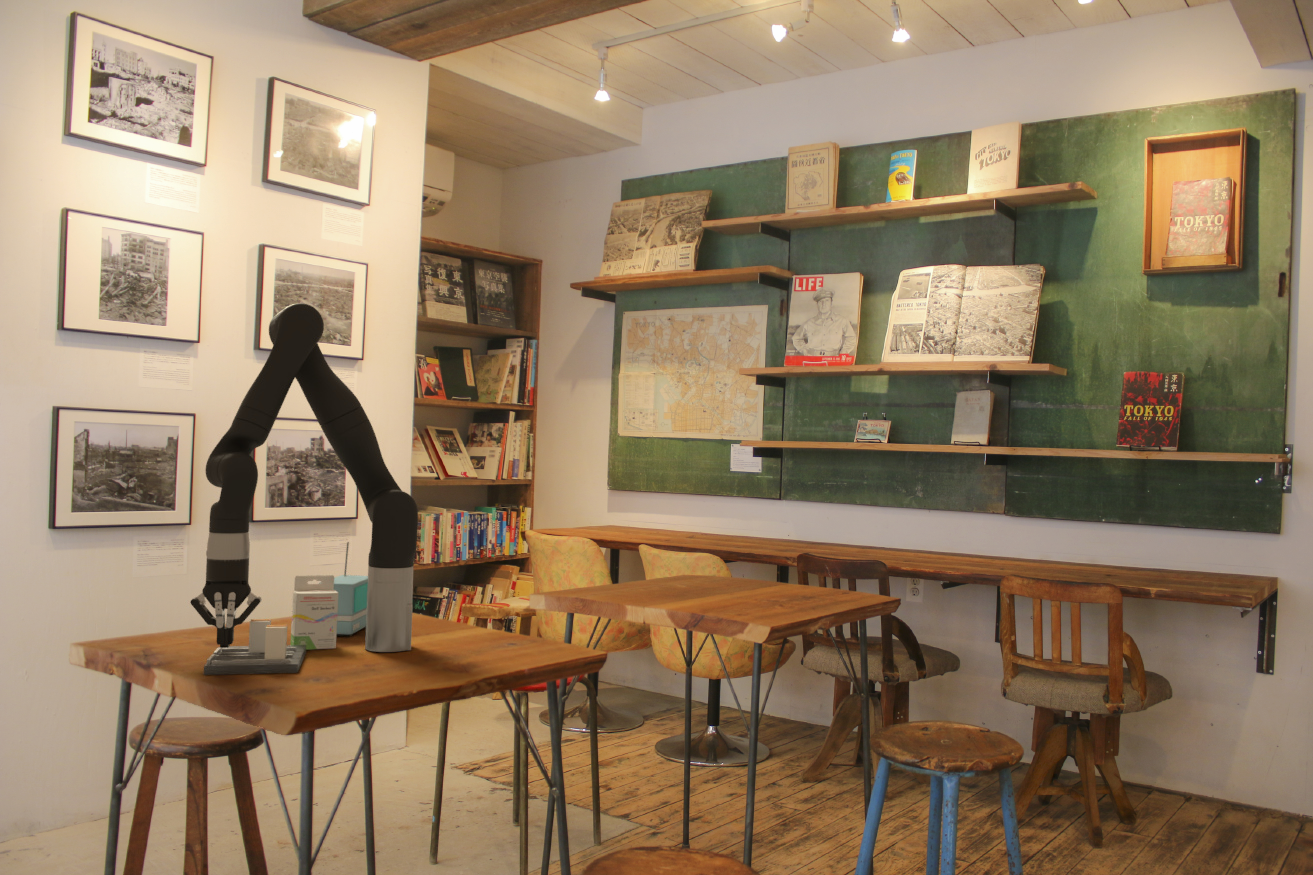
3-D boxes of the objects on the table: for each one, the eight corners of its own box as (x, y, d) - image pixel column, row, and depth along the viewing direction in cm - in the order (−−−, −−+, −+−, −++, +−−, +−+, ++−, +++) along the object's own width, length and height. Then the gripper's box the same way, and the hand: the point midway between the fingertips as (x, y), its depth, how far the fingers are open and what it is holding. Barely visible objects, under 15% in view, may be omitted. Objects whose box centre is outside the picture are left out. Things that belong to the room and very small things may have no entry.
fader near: (286, 656, 190) (287, 623, 190) (284, 659, 187) (285, 626, 187) (266, 657, 189) (267, 623, 189) (264, 660, 186) (265, 626, 186)
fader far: (269, 650, 196) (271, 618, 196) (268, 653, 193) (269, 620, 193) (250, 650, 195) (251, 618, 195) (248, 653, 192) (249, 620, 192)
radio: (356, 638, 222) (359, 547, 222) (315, 637, 222) (318, 546, 222) (377, 626, 237) (380, 541, 238) (339, 625, 237) (342, 540, 238)
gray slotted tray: (306, 652, 204) (306, 640, 204) (297, 672, 185) (298, 659, 185) (220, 654, 199) (221, 642, 200) (203, 674, 181) (204, 661, 181)
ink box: (293, 650, 205) (296, 578, 206) (289, 646, 210) (292, 575, 210) (337, 648, 209) (339, 577, 210) (332, 644, 214) (335, 574, 214)
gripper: (267, 554, 198) (264, 642, 198) (194, 553, 195) (191, 643, 194) (262, 558, 191) (259, 649, 190) (186, 557, 187) (183, 651, 187)
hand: (224, 646), depth 192 cm, fingers closed
